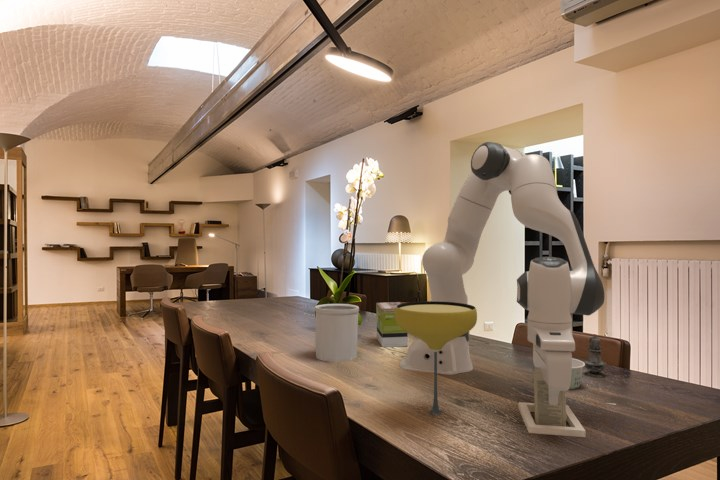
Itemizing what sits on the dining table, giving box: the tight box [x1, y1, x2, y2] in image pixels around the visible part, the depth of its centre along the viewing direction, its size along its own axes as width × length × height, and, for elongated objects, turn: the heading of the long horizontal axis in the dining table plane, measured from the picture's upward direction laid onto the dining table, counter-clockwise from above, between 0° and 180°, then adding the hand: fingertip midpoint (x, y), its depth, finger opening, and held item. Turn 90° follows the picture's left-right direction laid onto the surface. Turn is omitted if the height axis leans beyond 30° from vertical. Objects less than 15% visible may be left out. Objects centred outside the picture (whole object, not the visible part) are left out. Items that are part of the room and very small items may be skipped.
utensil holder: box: [314, 303, 360, 363], centre depth 159 cm, size 15×15×18 cm
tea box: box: [375, 301, 409, 348], centre depth 183 cm, size 15×10×15 cm
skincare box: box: [532, 366, 567, 427], centre depth 101 cm, size 6×4×12 cm
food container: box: [568, 357, 586, 390], centre depth 130 cm, size 12×12×6 cm
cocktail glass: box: [395, 300, 478, 415], centre depth 107 cm, size 18×18×25 cm
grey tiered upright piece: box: [583, 333, 607, 378], centre depth 139 cm, size 6×6×12 cm
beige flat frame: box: [518, 401, 587, 438], centre depth 101 cm, size 11×14×2 cm
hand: (549, 398), depth 101 cm, fingers open, 5 cm apart
